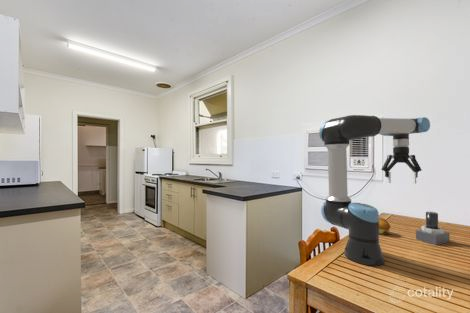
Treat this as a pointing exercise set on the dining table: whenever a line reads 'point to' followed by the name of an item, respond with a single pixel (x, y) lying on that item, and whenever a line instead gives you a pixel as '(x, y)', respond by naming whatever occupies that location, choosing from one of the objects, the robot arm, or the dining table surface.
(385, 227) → the orange brown stemmed fruit
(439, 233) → the block
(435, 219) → the lens
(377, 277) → the dining table surface
